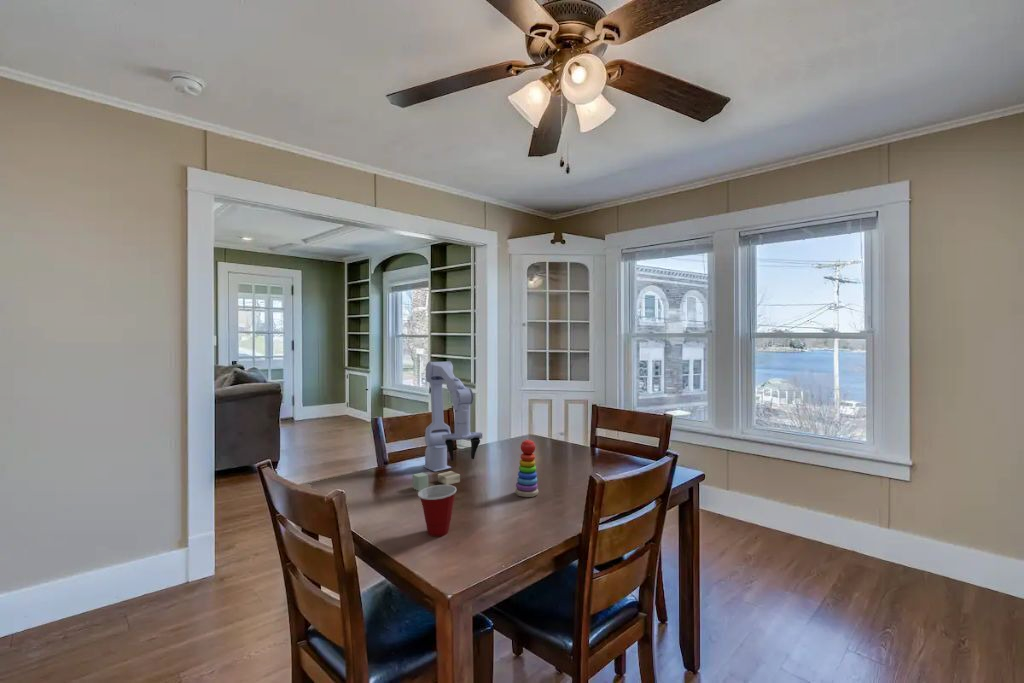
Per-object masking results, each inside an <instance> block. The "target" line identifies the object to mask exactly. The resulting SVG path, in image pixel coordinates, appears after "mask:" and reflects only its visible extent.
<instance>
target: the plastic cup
mask: <svg viewBox="0 0 1024 683" xmlns="http://www.w3.org/2000/svg"><path fill="white" fill-rule="evenodd" d="M456 493H457V487H456V486H454V485H452V484H449V485H445V484H437V485H430V486H428V487H427V488H424V489H422V490H420V491H417V496H418V498H419V500H420V502H421V504H422V509H423V514H424V521H425V525H426V532H427V534H428V535H429V536H431V537H443V536H446V535H448V533H449V530H450V526H451V521H452V515H453V508H454V502H455V496H456Z"/></svg>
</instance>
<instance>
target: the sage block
mask: <svg viewBox="0 0 1024 683" xmlns="http://www.w3.org/2000/svg"><path fill="white" fill-rule="evenodd" d="M427 487H429V474H427V473H425V472H418V473H414V474H412V489H413V488H414V490H415V489H416V491H417V490H418V491H417V492H419V491H420V490H422V489H424V488H427Z"/></svg>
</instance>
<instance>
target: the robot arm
mask: <svg viewBox="0 0 1024 683" xmlns="http://www.w3.org/2000/svg"><path fill="white" fill-rule="evenodd" d="M425 379H426V382H428V383H429V387H430V388H429V389H430V405H431V407H430V409H431V423H430V424H429V425H428V426H427V427H425V433H424V442H425V445H426V448H425V451H424V465H422V467H423V468H425V469H428V470H430V471H432V472H434V473H435V472H439V471H444V470H449V469H452V466H450V465H448V454H449V459H450V461H451V462H453V461H454V446H455V444H454V441H458V440H459V441H461V440H462V441H463V440H470V446H471V448H470V457H471V460H475V456H476V452H477V449H478V447H479V445H480V444H481V439H483V433H482V431H480V432H474V431H473V432H471V405H472V404H473V402H474V393H473V390H472V389H471V388H470V387H469V388H468V387H466V386H465V385H464V383H463V382H462V381H461V379H460V377H456V376H455V374H454V366H453V363H452V361H451V360H447V361H428V362H426V366H425ZM444 382H446V389H447V390H448V392H449V393H450V395H451V402H452V408H453V409H452V410H454V432H453V433H452V432H451V427H450V425H448V424H447V423H446V422H445V419H444V417H445V415H444V395H443V384H444Z"/></svg>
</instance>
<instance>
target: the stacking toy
mask: <svg viewBox="0 0 1024 683" xmlns="http://www.w3.org/2000/svg"><path fill="white" fill-rule="evenodd" d="M520 450H521V452H522V453H521V454H520V460H519V466H518V470H519V471H518V472H517V476H518V477H517V478H516V480H517V482H516V484H515V487H516V488H515V494H516V495H517V496H519V497H521V498H533V497H536V496H537V495H538V494H539V491H540V490H539V489H538V478H537V476H538V474H537V466H536V460H535V459H536V456H535V454H534V452H535V450H536V445H535V442H534V441H533V440H531V439H525V440H523V441H522V442H521V444H520Z"/></svg>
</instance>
